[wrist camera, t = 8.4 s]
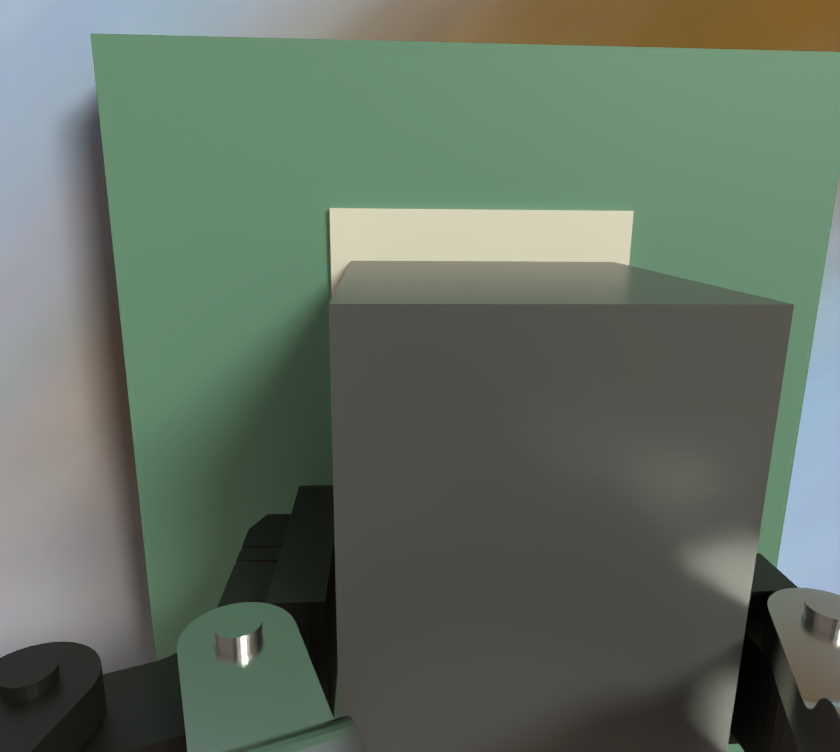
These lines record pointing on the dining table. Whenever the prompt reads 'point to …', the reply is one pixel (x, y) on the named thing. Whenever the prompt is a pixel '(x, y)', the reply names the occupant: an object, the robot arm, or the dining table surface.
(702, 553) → the block
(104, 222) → the dining table surface
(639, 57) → the board
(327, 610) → the robot arm
